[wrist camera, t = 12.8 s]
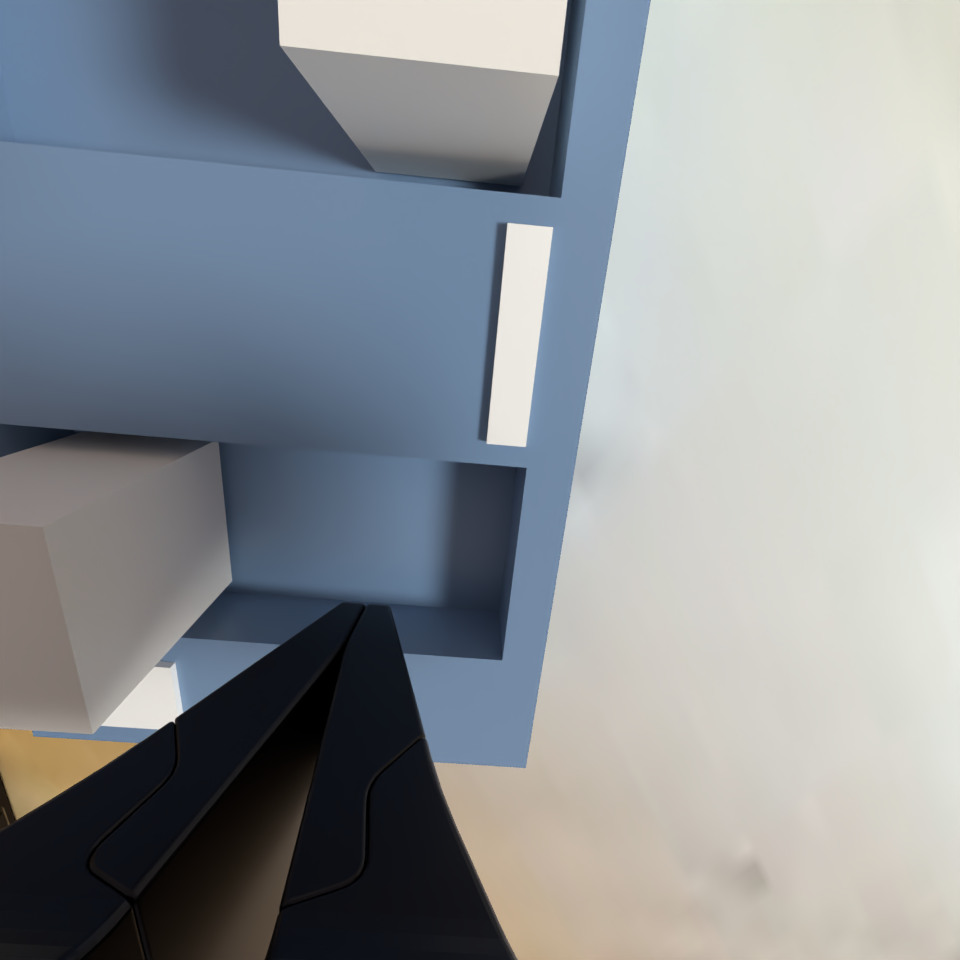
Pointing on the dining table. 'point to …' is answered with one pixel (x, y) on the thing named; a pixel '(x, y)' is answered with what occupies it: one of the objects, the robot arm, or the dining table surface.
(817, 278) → the dining table surface
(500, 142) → the tab
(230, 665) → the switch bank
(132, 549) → the tab
